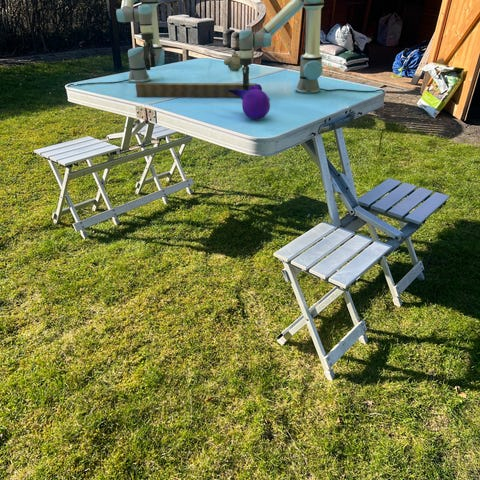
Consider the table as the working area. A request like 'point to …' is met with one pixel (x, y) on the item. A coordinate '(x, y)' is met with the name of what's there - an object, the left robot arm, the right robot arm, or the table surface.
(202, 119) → the table surface
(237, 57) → the teapot
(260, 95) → the toy
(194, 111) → the table surface
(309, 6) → the right robot arm
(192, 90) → the bar
